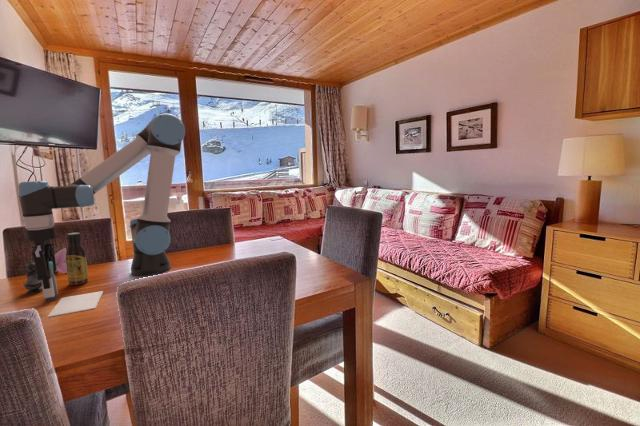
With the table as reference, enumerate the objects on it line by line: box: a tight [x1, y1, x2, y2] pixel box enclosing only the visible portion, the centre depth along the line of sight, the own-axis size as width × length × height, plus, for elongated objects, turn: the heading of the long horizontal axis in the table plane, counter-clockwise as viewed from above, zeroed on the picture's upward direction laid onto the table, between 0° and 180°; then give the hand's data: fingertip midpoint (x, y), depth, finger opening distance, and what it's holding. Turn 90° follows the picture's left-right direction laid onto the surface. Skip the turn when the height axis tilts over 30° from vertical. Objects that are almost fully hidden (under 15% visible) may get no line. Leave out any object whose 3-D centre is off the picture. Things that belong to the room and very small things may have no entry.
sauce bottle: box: [65, 232, 89, 286], centre depth 124 cm, size 6×6×20 cm
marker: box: [44, 261, 58, 302], centre depth 109 cm, size 3×3×13 cm
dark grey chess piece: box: [22, 259, 43, 295], centre depth 117 cm, size 6×6×12 cm
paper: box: [46, 290, 104, 318], centre depth 106 cm, size 12×16×1 cm
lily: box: [54, 247, 67, 274], centre depth 140 cm, size 12×12×10 cm
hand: (51, 295), depth 110 cm, fingers closed on marker, 3 cm apart
